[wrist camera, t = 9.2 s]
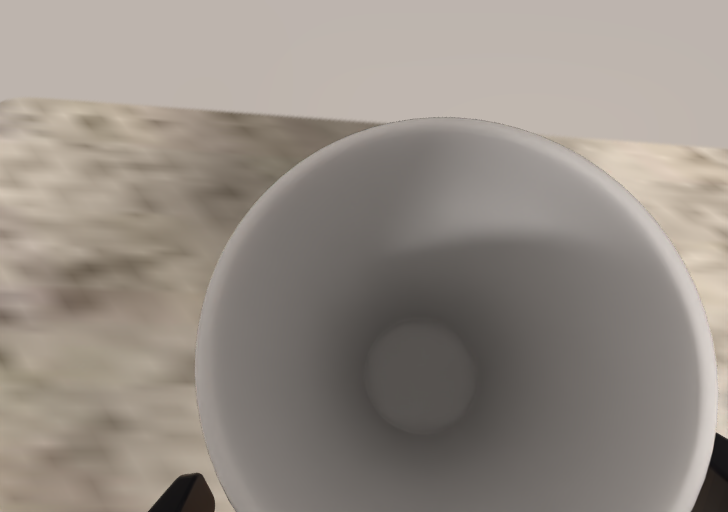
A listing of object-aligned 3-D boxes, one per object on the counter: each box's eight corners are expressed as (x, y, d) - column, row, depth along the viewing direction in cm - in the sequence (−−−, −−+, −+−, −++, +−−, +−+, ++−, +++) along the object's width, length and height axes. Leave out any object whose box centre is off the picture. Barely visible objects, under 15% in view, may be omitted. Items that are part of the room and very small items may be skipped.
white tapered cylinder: (437, 277, 21) (491, 33, 7) (526, 400, 19) (881, 428, 5) (320, 352, 20) (111, 262, 6) (398, 487, 18) (349, 823, 4)
